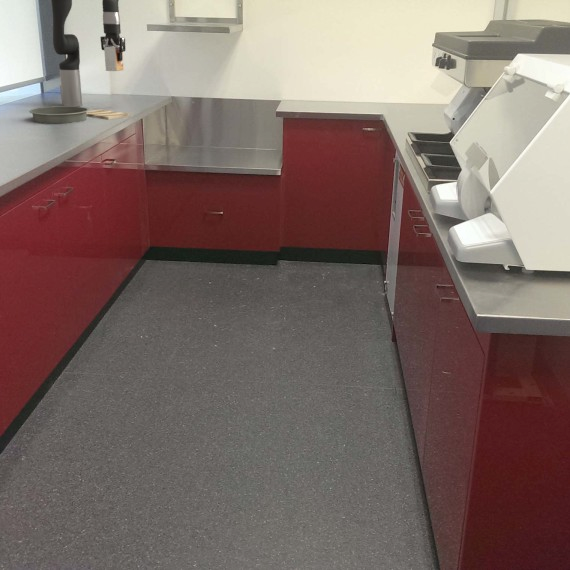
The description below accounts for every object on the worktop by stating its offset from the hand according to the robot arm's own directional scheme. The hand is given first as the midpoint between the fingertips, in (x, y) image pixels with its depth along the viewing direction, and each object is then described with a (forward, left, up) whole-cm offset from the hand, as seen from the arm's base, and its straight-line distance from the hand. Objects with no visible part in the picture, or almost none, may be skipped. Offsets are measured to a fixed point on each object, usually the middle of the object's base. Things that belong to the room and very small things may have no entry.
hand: (114, 60), depth 315 cm
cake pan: (+3, -36, -23) cm, 43 cm away
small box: (0, 0, -5) cm, 5 cm away
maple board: (+8, -15, -23) cm, 28 cm away
